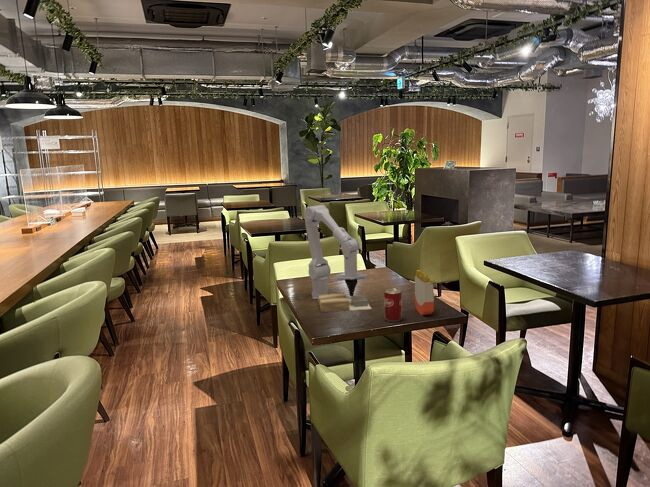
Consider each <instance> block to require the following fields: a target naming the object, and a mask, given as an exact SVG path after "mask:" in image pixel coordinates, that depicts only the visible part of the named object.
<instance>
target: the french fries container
mask: <svg viewBox="0 0 650 487" xmlns="http://www.w3.org/2000/svg"><path fill="white" fill-rule="evenodd" d="M415 272H416V274H415V276H414V304H415V305H414V306H415V309H416V311H417V312H418V313H419V314H420V315H421V316H427V315H432V313H433V312H434V311H435V310H434V309H435V307H434V306H435V304H434V303H435V298H434V297H435V296H434V292H435V290H434V282H435V281H434V280H431V278H430V277H428V274H427V273H426V274H425V273H424V272H422V271H421V269H417V270H415Z"/></svg>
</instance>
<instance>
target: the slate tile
mask: <svg viewBox="0 0 650 487" xmlns="http://www.w3.org/2000/svg"><path fill="white" fill-rule="evenodd" d="M350 297H351V298H350V299H351V301H352V303H353V305H354V306H355V307H362V306H368V304H369V301H368V298H367V297H366V296H365V295H364V294H358V295H353V296H350Z"/></svg>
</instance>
